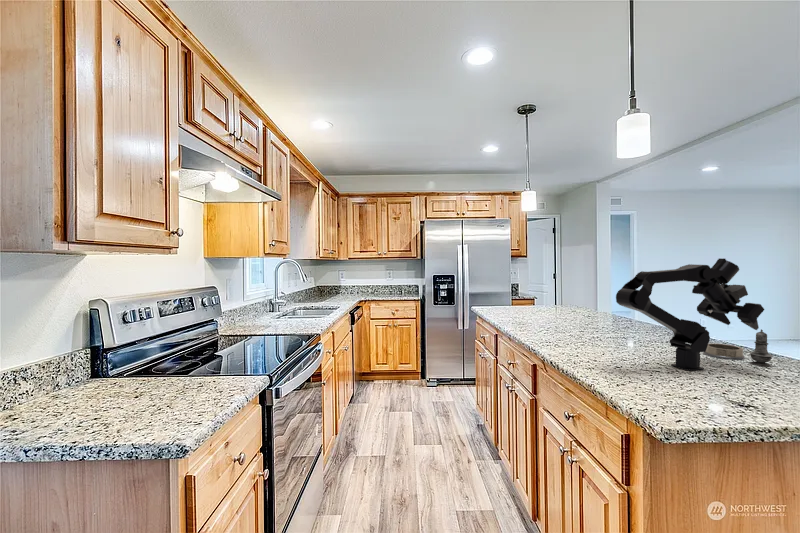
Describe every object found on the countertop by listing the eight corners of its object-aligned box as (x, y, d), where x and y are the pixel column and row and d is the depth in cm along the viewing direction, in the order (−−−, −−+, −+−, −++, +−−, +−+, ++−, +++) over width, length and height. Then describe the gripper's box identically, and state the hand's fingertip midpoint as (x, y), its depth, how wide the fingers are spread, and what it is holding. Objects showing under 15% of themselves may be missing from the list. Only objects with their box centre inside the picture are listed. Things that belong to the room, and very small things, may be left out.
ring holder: (728, 360, 137) (728, 351, 137) (695, 352, 148) (695, 344, 148) (752, 358, 140) (753, 349, 140) (719, 350, 151) (719, 342, 151)
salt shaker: (762, 362, 135) (763, 327, 135) (777, 367, 129) (778, 331, 129) (744, 362, 136) (745, 327, 135) (758, 366, 130) (759, 330, 129)
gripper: (760, 278, 120) (789, 313, 122) (704, 275, 139) (730, 305, 141) (737, 304, 119) (767, 339, 121) (684, 297, 138) (710, 327, 140)
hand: (742, 326), depth 131 cm, fingers open, 9 cm apart
